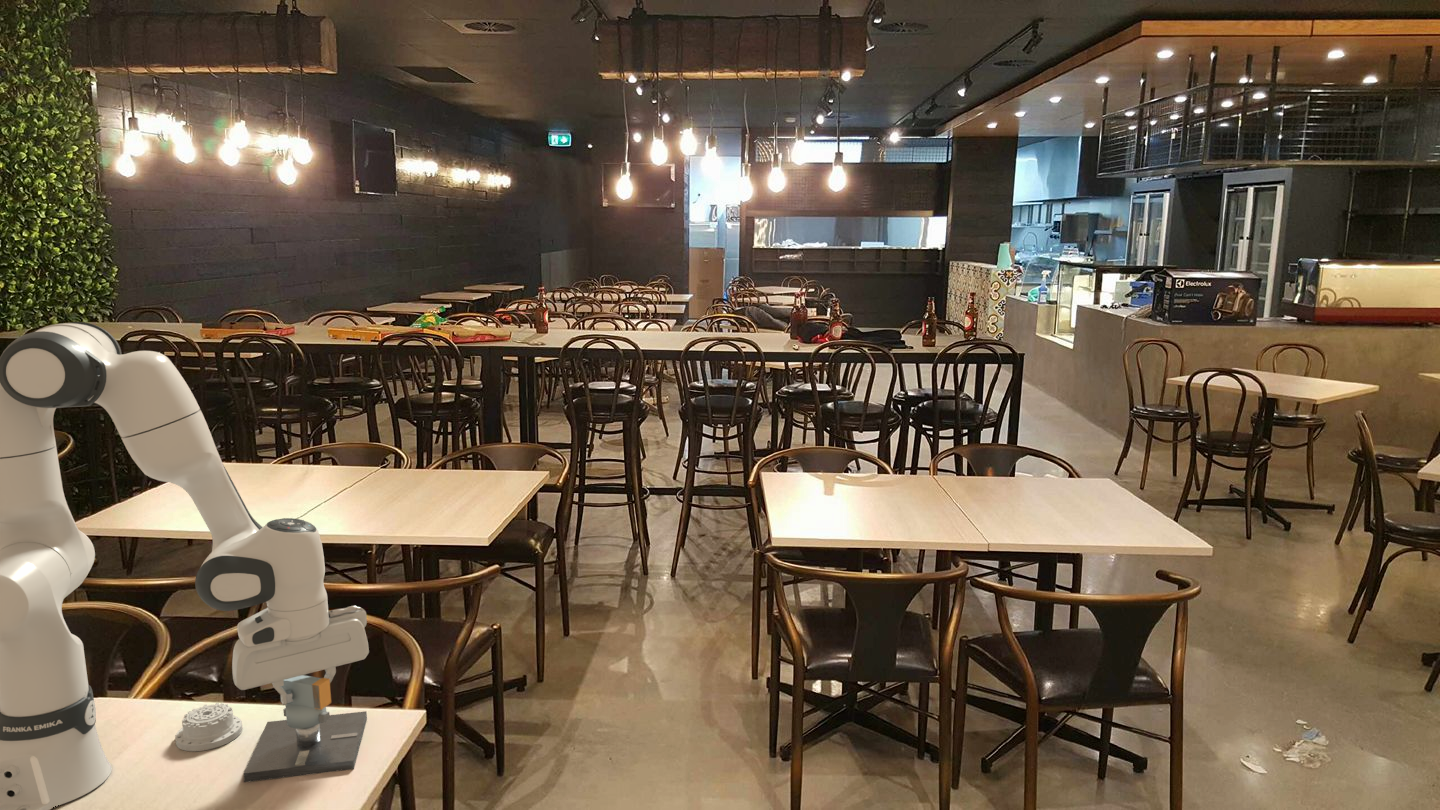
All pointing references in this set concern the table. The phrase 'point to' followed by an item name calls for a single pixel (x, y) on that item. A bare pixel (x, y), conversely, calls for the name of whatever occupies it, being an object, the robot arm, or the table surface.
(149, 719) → the table surface
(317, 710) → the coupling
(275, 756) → the post plate
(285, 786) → the table surface
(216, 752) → the table surface
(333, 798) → the table surface
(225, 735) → the mechanical component
